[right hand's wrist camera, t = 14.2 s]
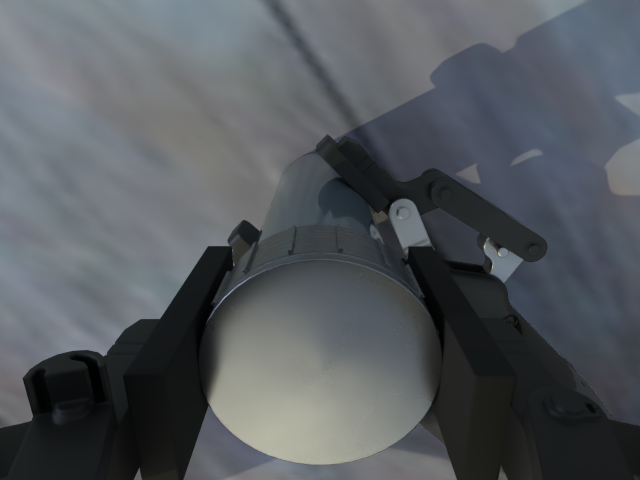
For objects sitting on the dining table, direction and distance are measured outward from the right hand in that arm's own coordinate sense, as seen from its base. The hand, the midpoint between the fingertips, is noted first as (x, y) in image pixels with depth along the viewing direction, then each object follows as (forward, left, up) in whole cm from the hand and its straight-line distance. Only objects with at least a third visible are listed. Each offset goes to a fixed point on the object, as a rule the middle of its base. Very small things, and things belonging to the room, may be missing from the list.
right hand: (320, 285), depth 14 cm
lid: (0, 0, +4) cm, 4 cm away
